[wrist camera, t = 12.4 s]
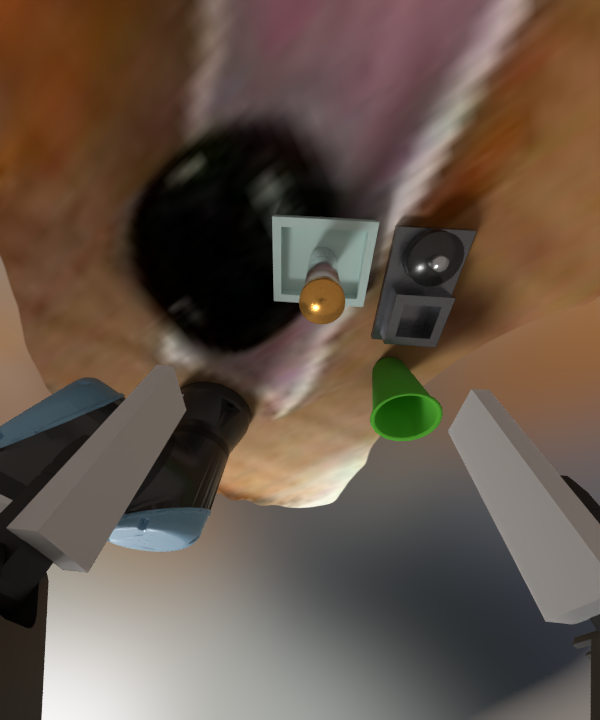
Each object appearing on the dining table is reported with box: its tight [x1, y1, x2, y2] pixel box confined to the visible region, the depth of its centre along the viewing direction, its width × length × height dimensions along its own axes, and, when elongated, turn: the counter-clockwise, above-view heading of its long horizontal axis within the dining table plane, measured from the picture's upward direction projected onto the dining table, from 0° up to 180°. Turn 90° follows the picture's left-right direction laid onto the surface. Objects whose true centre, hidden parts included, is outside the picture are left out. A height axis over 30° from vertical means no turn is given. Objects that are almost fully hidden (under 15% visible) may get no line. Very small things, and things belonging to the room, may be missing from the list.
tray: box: [272, 214, 379, 307], centre depth 32 cm, size 12×10×2 cm
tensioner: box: [371, 226, 477, 347], centre depth 33 cm, size 9×15×5 cm, turn 178°
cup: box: [370, 357, 443, 441], centre depth 38 cm, size 9×9×11 cm
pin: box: [299, 247, 345, 324], centre depth 27 cm, size 4×4×14 cm
